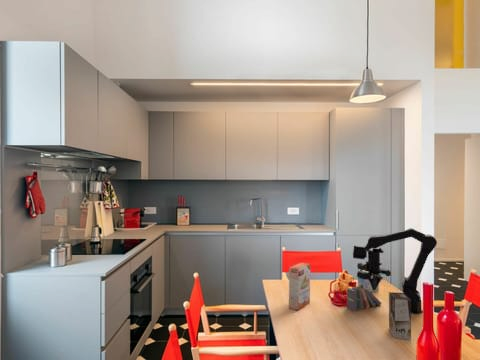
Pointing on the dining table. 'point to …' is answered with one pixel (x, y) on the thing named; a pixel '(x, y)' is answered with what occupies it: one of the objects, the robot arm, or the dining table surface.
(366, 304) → the domino
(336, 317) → the dining table surface
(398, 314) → the coffee box
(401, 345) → the dining table surface
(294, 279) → the cracker box
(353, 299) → the domino
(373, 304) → the domino
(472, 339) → the dining table surface
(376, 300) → the domino
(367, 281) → the light bulb box
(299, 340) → the dining table surface
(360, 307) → the domino
